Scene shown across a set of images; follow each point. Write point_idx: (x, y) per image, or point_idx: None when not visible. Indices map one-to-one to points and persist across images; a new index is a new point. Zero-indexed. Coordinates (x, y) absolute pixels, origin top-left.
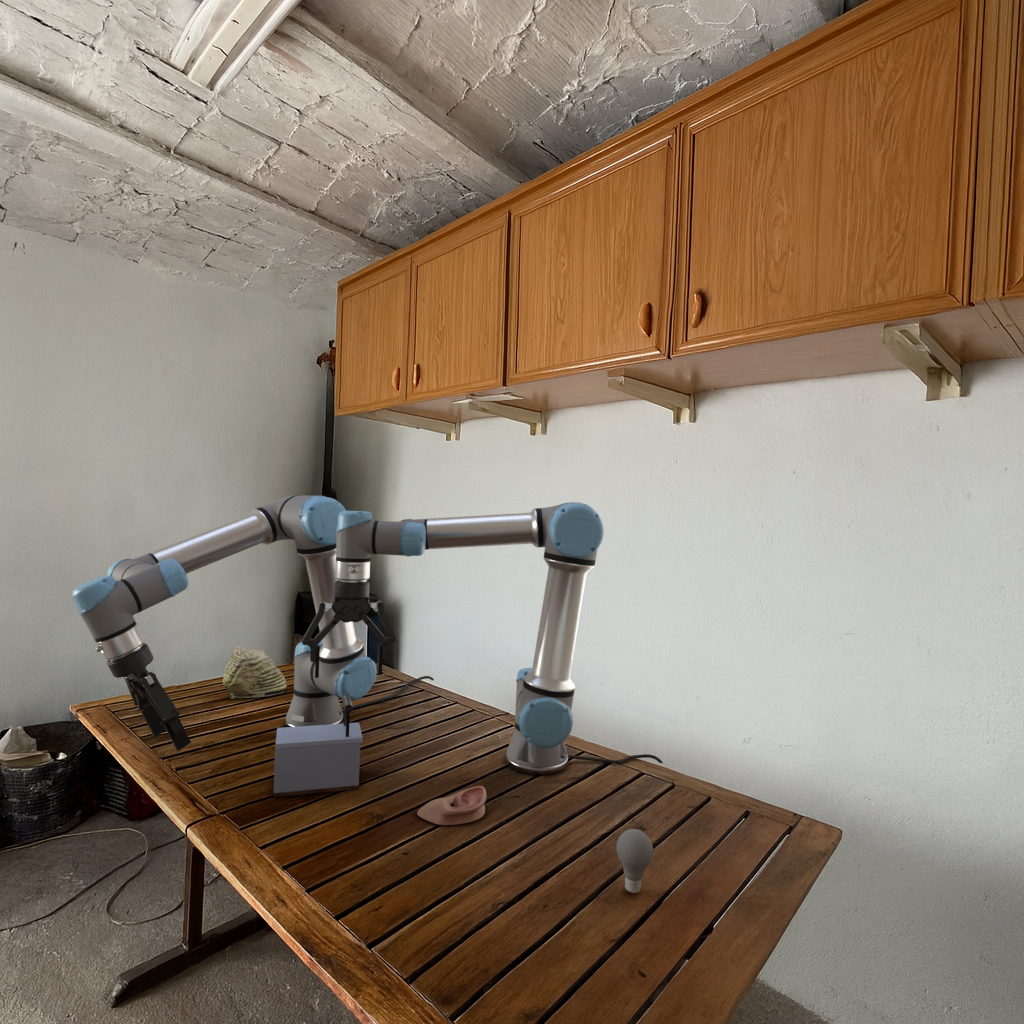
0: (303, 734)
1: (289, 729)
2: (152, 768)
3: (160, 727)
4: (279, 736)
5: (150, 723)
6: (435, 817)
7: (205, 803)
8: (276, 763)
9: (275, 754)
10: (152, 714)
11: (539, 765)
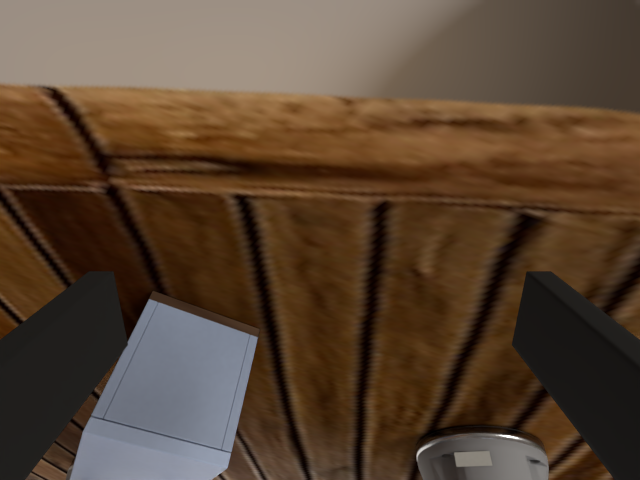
0: (137, 468)
1: (195, 471)
2: (632, 166)
3: (537, 341)
4: (148, 451)
5: (589, 345)
6: None
7: (199, 182)
8: (112, 372)
9: (100, 398)
10: (625, 431)
11: (69, 472)
